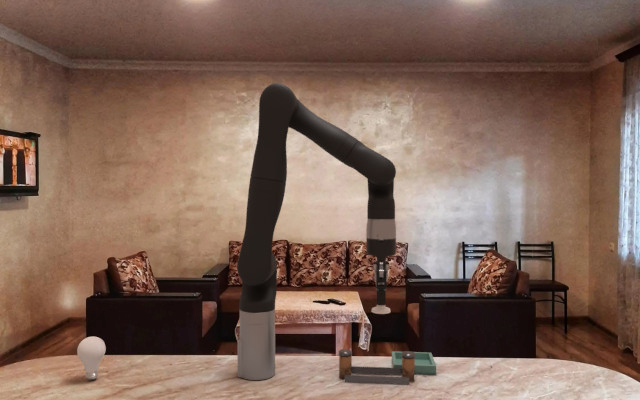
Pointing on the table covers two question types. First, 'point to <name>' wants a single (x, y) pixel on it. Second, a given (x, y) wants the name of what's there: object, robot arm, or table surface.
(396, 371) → the rail
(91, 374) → the light bulb
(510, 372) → the table surface
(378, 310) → the chess piece
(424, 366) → the tray
